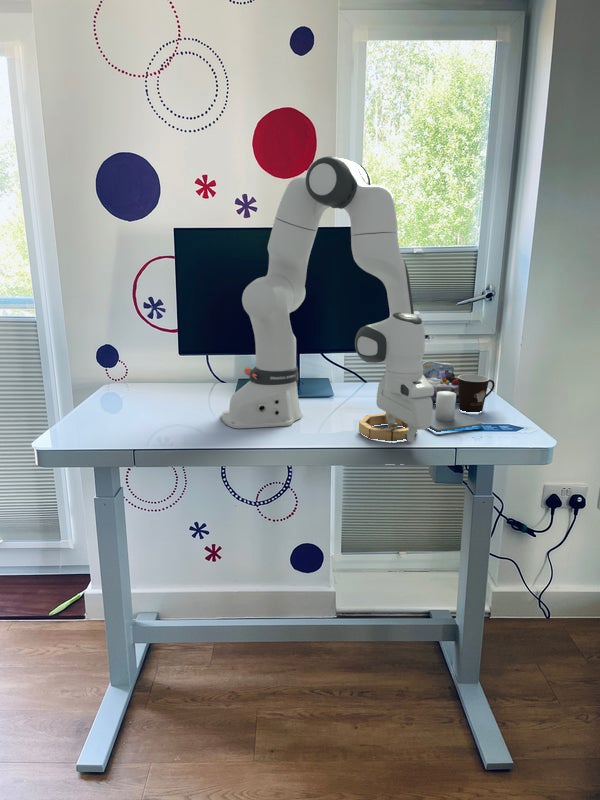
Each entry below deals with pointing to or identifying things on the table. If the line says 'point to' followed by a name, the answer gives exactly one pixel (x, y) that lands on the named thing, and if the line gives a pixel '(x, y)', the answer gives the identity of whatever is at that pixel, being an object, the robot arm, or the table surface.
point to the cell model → (441, 378)
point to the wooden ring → (378, 433)
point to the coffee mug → (473, 392)
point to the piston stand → (449, 414)
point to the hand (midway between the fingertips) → (400, 435)
